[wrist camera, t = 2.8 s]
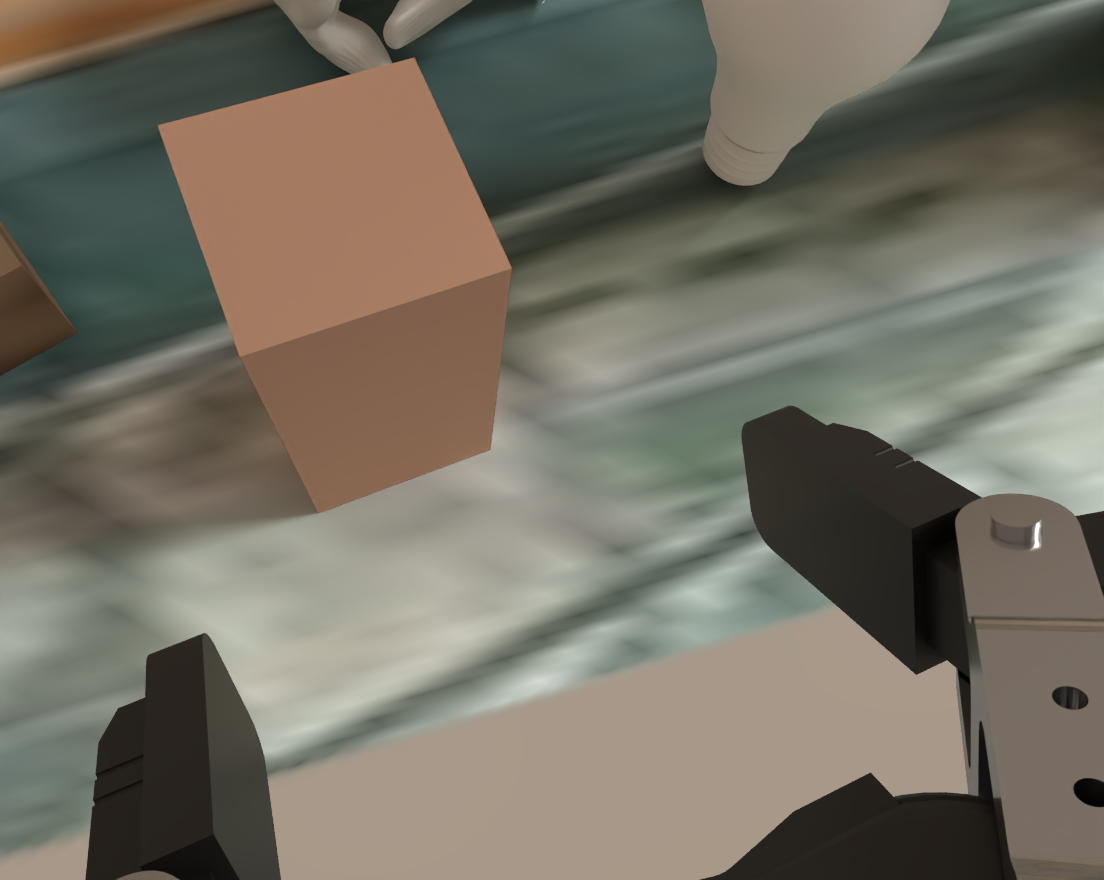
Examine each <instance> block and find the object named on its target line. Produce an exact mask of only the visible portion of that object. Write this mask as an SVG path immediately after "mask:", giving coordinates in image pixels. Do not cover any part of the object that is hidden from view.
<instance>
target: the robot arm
mask: <svg viewBox="0 0 1104 880" xmlns="http://www.w3.org/2000/svg"><path fill="white" fill-rule="evenodd" d="M742 445H743V453H744V460H745V468H746V476H747V483H748V491H749V498H750V506H751V512H752V516H753V519H754V522H755V525H756V527H757V529H758V531H759V533H760V535H761V537H762V538H763V540H764V541H765V543H766V544H767V545H768V546H769V547H770V548H771V549H772V550H773V551H774V552H775V553H776V554H778V555H779V556H780V557H781V558H782V559H783V560H785V561H786V562H787V563H788V564H789V565H790V566H791V567H793V568H794V569H795V570H796V571H797V572H798V573H800V574H801V575H802V576H803V577H804V578H805V579H806V580H808V581H809V582H810V583H811V584H812V585H813V586H815V587H816V588H817V589H818V590H819V591H820V592H821V593H823V594H824V595H825V596H826V597H827V598H828V599H830V600H831V601H832V602H833V603H834V604H835V605H836V606H838V607H839V608H840V609H841V610H842V611H843V612H845V613H846V614H847V615H848V616H849V617H850V618H852V619H853V620H854V621H855V622H856V623H857V624H859V625H860V626H861V627H862V628H863V629H864V630H865V631H866V632H868V633H869V634H870V635H871V636H872V637H874V638H875V639H876V640H877V641H878V642H879V643H880V644H881V645H883V646H884V647H885V648H886V649H887V650H888V651H890V652H891V653H892V654H893V655H894V656H895V657H897V658H898V659H899V660H900V661H901V662H902V663H903V664H905V665H906V666H907V667H908V668H909V669H910V670H911V671H913V672H914V673H915V674H916V675H917V674H919V673H921V672H923V671H925V670H927V669H929V668H931V667H933V666H935V665H938V664H940V663H942V662H944V661H946V660H948V661H949V662H950V663H951V664H953V665H954V666H955V667H956V689H957V697H958V706H959V715H960V724H961V732H962V740H963V750H964V758H965V768H966V776H967V785H968V794H957V793H947V792H946V793H916V794H908V795H900V796H895V797H893V796H892V795H891V794H890V793H889V792H888V791H887V790H886V789H885V787H884V786H883V785H882V784H881V783H880V782H879V781H878V780H877V779H876V778H875V777H874V776H873V775H872V774H871V773H869V774H867V775H865V776H863V777H861V778H859V779H857V780H855V781H853V782H851V783H849V784H847V785H845V786H843V787H841V788H839V789H838V790H835V791H834V792H831V793H829V794H827V795H826V796H824V797H822V798H820V799H818V800H816V801H814V802H812V803H810V804H808V805H806V806H804V807H802V808H800V809H798V810H796V811H794V812H793V813H792V814H791V815H789V816H788V817H787V818H786V819H785V820H784V821H783V822H782V823H780V824H779V825H778V826H777V827H776V828H775V829H774V830H773V831H772V832H770V833H769V834H768V835H767V836H766V837H765V838H764V839H763V840H761V841H760V842H759V843H758V844H757V845H756V846H755V847H754V848H752V849H751V850H750V851H749V852H748V853H747V854H746V855H745V856H743V857H742V858H741V859H740V860H739V861H738V862H737V863H736V864H735V865H733V866H732V867H731V868H730V869H728V870H727V871H726V872H724V873H722V874H720V875H717V876H714V877H709V878H705V879H701V880H1104V511H1102V512H1096V513H1091V514H1085V515H1080V516H1074V514H1073V513H1072V512H1070V511H1069V510H1068V509H1067V508H1065V507H1063V506H1062V505H1060V504H1058V503H1056V502H1053V501H1051V500H1048V499H1045V498H1041V497H1037V496H1032V495H1025V494H998V495H992V496H987V497H983V498H982V497H980V496H978V495H976V494H975V493H973V492H971V491H970V490H968V489H966V488H964V487H963V486H961V485H959V484H957V483H956V482H954V481H952V480H951V479H949V478H947V477H945V476H944V475H942V474H940V473H938V472H937V471H935V470H933V469H932V468H930V467H928V466H926V465H925V464H923V463H921V462H920V461H916V462H914V460H913V457H911V456H909V455H907V454H906V453H904V452H902V451H901V450H899V449H895V450H894V449H893V447H892V445H890V444H888V443H887V442H885V441H883V440H882V439H880V438H878V437H876V436H875V435H873V434H871V433H870V432H868V431H865V430H860V429H856V428H852V427H848V426H844V425H840V424H836V423H832V424H830V425H825V424H823V423H822V422H820V421H818V420H817V419H815V418H813V417H812V416H810V415H808V414H807V413H805V412H803V411H802V410H800V409H799V408H797V407H795V406H787V407H784V408H782V409H779V410H777V411H774V412H772V413H769V414H767V415H764V416H761V417H759V418H756V419H754V420H751V421H749V422H747V423H745V424H744V426H743V428H742ZM96 776H97V780H95V786H94V797H93V801H94V803H95V806H93V807H92V818H91V828H90V839H89V849H88V860H87V870H86V880H281V877H280V869H279V863H278V855H277V847H276V840H275V832H274V824H273V817H272V810H271V802H270V794H269V787H268V779H267V772H266V765H265V759H264V754H263V750H262V747H261V743H260V740H259V737H258V734H257V732H256V729H255V726H254V724H253V722H252V719H251V717H250V715H249V713H248V711H247V709H246V707H245V705H244V703H243V701H242V699H241V697H240V695H239V693H238V691H237V689H236V687H235V685H234V683H233V681H232V679H231V677H230V675H229V673H228V671H227V669H226V667H225V665H224V663H223V661H222V659H221V657H220V655H219V653H218V651H217V649H216V647H215V645H214V643H213V642H212V640H211V638H210V637H209V636H208V635H207V634H206V633H203V634H201V635H198V636H195V637H193V638H190V639H188V640H185V641H183V642H180V643H178V644H175V645H172V646H170V647H167V648H165V649H162V650H160V651H157V652H155V653H152V654H149V655H148V657H147V662H146V692H145V698H143V699H140V700H138V701H135V702H133V703H130V704H128V705H125V706H123V707H120V708H118V710H117V711H116V713H115V715H114V717H113V718H112V720H111V722H110V724H109V725H108V727H107V729H106V731H105V732H104V734H103V736H102V738H101V739H100V741H99V744H98V755H97V765H96Z"/></svg>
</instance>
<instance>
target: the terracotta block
mask: <svg viewBox="0 0 1104 880" xmlns="http://www.w3.org/2000/svg"><path fill="white" fill-rule="evenodd" d="M158 128H159V131H160V134H161V137H162V139H163V142H164V145H165V148H166V151H167V154H168V156H169V159H170V162H171V165H172V168H173V170H174V173H175V176H176V179H177V182H178V185H179V187H180V190H181V193H182V196H183V199H184V201H185V204H186V207H187V210H188V213H189V216H190V218H191V221H192V224H193V227H194V230H195V232H196V235H197V238H198V241H199V244H200V247H201V249H202V252H203V255H204V258H205V261H206V263H207V266H208V269H209V272H210V275H211V278H212V280H213V283H214V286H215V289H216V292H217V294H218V297H219V300H220V303H221V306H222V309H223V311H224V314H225V317H226V320H227V323H228V325H229V328H230V331H231V334H232V337H233V340H234V342H235V345H236V348H237V351H238V354H239V357H240V359H241V361H242V363H243V365H244V367H245V369H246V371H247V373H248V374H249V376H250V378H251V380H252V382H253V384H254V386H255V388H256V390H257V392H258V394H259V396H260V398H261V400H262V402H263V404H264V406H265V408H266V410H267V412H268V414H269V416H270V418H271V420H272V422H273V424H274V426H275V428H276V430H277V432H278V434H279V436H280V438H281V440H282V442H283V444H284V446H285V448H286V450H287V452H288V454H289V456H290V458H291V460H292V462H293V464H294V466H295V468H296V470H297V472H298V474H299V476H300V478H301V480H302V482H303V484H304V486H305V488H306V490H307V492H308V494H309V496H310V498H311V500H312V502H313V503H314V505H315V507H316V509H317V511H318V513H320V512H323V511H326V510H328V509H331V508H334V507H336V506H339V505H342V504H345V503H347V502H350V501H353V500H355V499H358V498H361V497H363V496H366V495H369V494H372V493H374V492H377V491H380V490H382V489H385V488H388V487H390V486H393V485H396V484H399V483H401V482H404V481H407V480H409V479H412V478H415V477H417V476H420V475H423V474H426V473H428V472H431V471H434V470H436V469H439V468H442V467H444V466H447V465H450V464H453V463H455V462H458V461H461V460H463V459H466V458H469V457H472V456H474V455H477V454H480V453H482V452H485V451H488V450H490V448H491V440H492V432H493V423H494V415H495V406H496V398H497V390H498V381H499V373H500V364H501V356H502V348H503V339H504V331H505V322H506V314H507V306H508V297H509V289H510V281H511V272H512V267H511V265H510V263H509V261H508V259H507V256H506V254H505V252H504V250H503V248H502V246H501V244H500V241H499V239H498V237H497V235H496V233H495V231H494V228H493V226H492V224H491V222H490V220H489V218H488V215H487V213H486V211H485V209H484V207H483V205H482V202H481V200H480V198H479V196H478V194H477V192H476V190H475V187H474V185H473V183H472V181H471V179H470V177H469V174H468V172H467V170H466V168H465V166H464V164H463V161H462V159H461V157H460V155H459V153H458V151H457V148H456V146H455V144H454V142H453V140H452V138H451V136H450V133H449V131H448V129H447V127H446V125H445V123H444V120H443V118H442V116H441V114H440V112H439V110H438V107H437V105H436V103H435V101H434V99H433V97H432V94H431V92H430V90H429V88H428V86H427V84H426V82H425V79H424V77H423V75H422V73H421V71H420V69H419V66H418V64H417V62H416V60H415V58H411V59H407V60H403V61H399V62H396V63H392V64H388V65H384V66H380V67H377V68H373V69H369V70H365V71H362V72H358V73H354V74H350V75H346V76H343V77H339V78H335V79H331V80H328V81H324V82H320V83H316V84H312V85H309V86H305V87H301V88H297V89H294V90H290V91H286V92H282V93H278V94H275V95H271V96H267V97H263V98H259V99H256V100H252V101H248V102H244V103H241V104H237V105H233V106H229V107H225V108H222V109H218V110H214V111H210V112H207V113H203V114H199V115H195V116H191V117H188V118H184V119H180V120H176V121H172V122H169V123H165V124H161V125H158Z"/></svg>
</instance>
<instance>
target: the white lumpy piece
mask: <svg viewBox="0 0 1104 880" xmlns="http://www.w3.org/2000/svg"><path fill="white" fill-rule="evenodd" d="M273 1H274V2H275V3H276V4H277V5H278V6H279V7H280V8H281V9H282V10H283V11H284V13H285V14H286V15H287V16H288V17H289V19H290V20H291V21H292V23H293V24H294V25H295V27H296V28H297V29H298V31H299V32H300V33H301V34H302V35H303V37H304V38H305V39H306V40H307V42H308V43H309V44H310V45H311V46H312V47H313V48H314V49H315V50H316V51H317V52H319V53H320V54H322V55H324V56H325V57H326V58H327V59H328V60H329V61H331V62H332V63H333V64H335V65H336V66H338V67H339V68H341V69H343V70H344V71H346V72H348V73H350V74H354V73H358V72H362V71H365V70H369V69H373V68H377V67H380V66H384V65H388V64H392V61H391V59H390V56H389V54H388V52H387V51H386V49H385V47H384V45H383V44H382V42H381V40H380V39H379V37H378V36H377V34H376V33H375V32H374V30H373V29H372V28H371V27H370V26H368V25H367V24H366V23H364V22H362V21H360V20H358V19H356V18H353V17H351V16H349V15H346V14H344V13H343V12H341V11H339V3H340V2H341V1H342V0H273ZM471 1H473V0H399V2H398V3H397V5H396V7H395V9H394V10H393V12H392V14H391V15H390V17H389V18H388V20H387V21H386V23H385V26H384V30H383V36H384V40H385V42H386V44H387V45H388V46H389V47H390V48H392V49H399V48H401V47H403V46H405V45H407V44H409V43H410V42H412V41H414V40H415V39H417V38H419V37H420V36H422V35H423V34H425V33H426V32H428V31H429V30H430V29H432V28H433V27H435V26H436V25H438V24H439V23H441V22H442V21H444V20H445V19H446V18H448V17H449V16H451V15H452V14H454V13H455V12H457V11H458V10H460V9H461V8H463V7H464V6H466V5H467V4H469V3H470V2H471ZM544 1H545V0H543V2H542V4H543V3H544Z"/></svg>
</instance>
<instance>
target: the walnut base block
mask: <svg viewBox="0 0 1104 880" xmlns="http://www.w3.org/2000/svg"><path fill="white" fill-rule="evenodd" d="M76 333H77V331H76V330H75V328H74V327H73V325H72V324H71V322H70V321H69V319H68V318H67V316H66V315H65V313H64V312H63V311H62V309H61V308H60V306H59V305H58V303H57V302H56V300H55V299H54V297H53V296H52V294H51V293H50V292H49V290H48V289H47V287H46V286H45V284H44V283H43V281H42V280H41V278H40V277H39V275H38V274H37V273H36V271H35V270H34V268H33V267H32V265H31V264H30V262H29V261H28V259H27V258H26V256H25V255H24V253H23V252H22V251H21V249H20V248H19V246H18V245H17V243H16V242H15V240H14V239H13V237H12V236H11V234H10V233H9V232H8V230H7V229H6V227H5V226H4V224H3V223H2V221H1V220H0V376H1V375H3V374H4V373H6V372H8V371H10V370H11V369H13V368H15V367H17V366H19V365H20V364H22V363H24V362H26V361H28V360H29V359H31V358H33V357H35V356H37V355H38V354H40V353H42V352H44V351H46V350H47V349H49V348H51V347H53V346H55V345H56V344H58V343H60V342H62V341H64V340H65V339H67V338H69V337H71V336H72V335H74V334H76Z"/></svg>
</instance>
